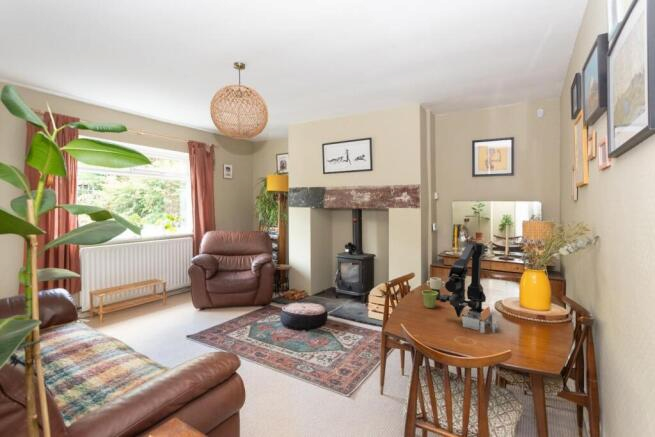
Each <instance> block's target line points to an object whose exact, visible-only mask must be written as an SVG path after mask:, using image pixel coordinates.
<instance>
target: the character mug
mask: <svg viewBox="0 0 655 437" xmlns="http://www.w3.org/2000/svg"><path fill="white" fill-rule="evenodd" d="M426 286H428V287H430V291H436V292H438V294H437V297H436V300H437V299H440V297H441V296H442V295H441V288H443V287H445V281H442V278H440V277H435V276H433V277H430V278H429V280H426Z"/></svg>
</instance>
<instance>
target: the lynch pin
mask: <svg viewBox="0 0 655 437" xmlns="http://www.w3.org/2000/svg"><path fill="white" fill-rule="evenodd" d="M465 314H466V313H461V316H460V317H461V318H460V320H461V323H463V316H464V315H465ZM481 321H482V320H481ZM491 326H492V325H491V322H490V321H488V320H486V321H485V327H489V328H490V327H491Z"/></svg>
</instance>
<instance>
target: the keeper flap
mask: <svg viewBox="0 0 655 437" xmlns="http://www.w3.org/2000/svg"><path fill="white" fill-rule="evenodd" d="M483 309H484V310H483V311H482V312H481V317H482V321H488V318H489V317H490V316H491V315H490V314H491V309H490V306H487V307H485V308H483Z"/></svg>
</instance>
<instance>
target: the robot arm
mask: <svg viewBox="0 0 655 437" xmlns="http://www.w3.org/2000/svg"><path fill="white" fill-rule="evenodd" d="M485 252H486V245H484V243H482V242H467V243H465V247H464V249H463V251H462V253H461V255H460V257H459V259H457V260H456V261H454V262H453V264H452V265H451V267H450V269H449V273H448V275H447V276H448V280H447V281H446V282H445V283H444V287H445V290H446V291H447V292H448V293H451V295H449V294H442V295H440V296H441V297H440V298H439V302H441V303H446V302H448V304H449V305H450V306H452V307H453V308H454V311H455V313H456V316H457V318H460V317H461V316H462V314H463V310H464V308H466V307H468V308H469V309H468V310H469V311H472V312H477V313H481V312H482V311H483V310H484V309H485V308H483V303H486V301H487V296H486V294H485V292H484V287H483V286H482V284H481V275H482V274H481V272H482V271H481V270H482V258H483V256H484V255H485ZM470 261H471V276H470V278H471V280H470V281H471V282H470V284H469V285H468V286H467V290H466V279H467V275H468V272H469V267H468V265H469V263H470ZM466 296H467V297H466ZM466 298H467V300H466ZM469 311H468V312H469Z"/></svg>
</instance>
